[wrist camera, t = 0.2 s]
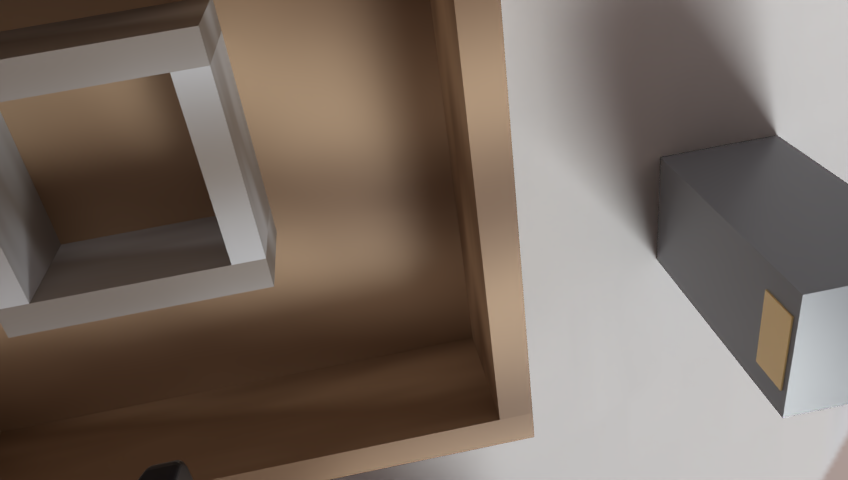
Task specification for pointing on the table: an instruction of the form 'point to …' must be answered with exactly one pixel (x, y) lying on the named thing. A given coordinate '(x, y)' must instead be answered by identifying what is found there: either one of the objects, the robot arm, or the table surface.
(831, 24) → the table surface
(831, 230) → the grey rectangular block
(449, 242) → the walled box
